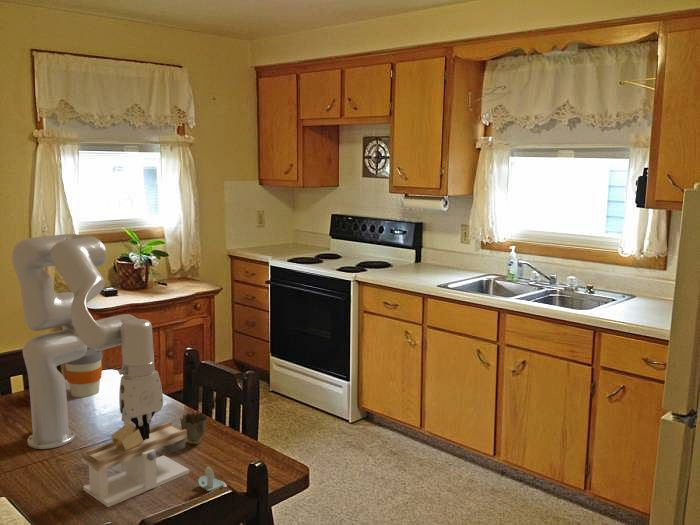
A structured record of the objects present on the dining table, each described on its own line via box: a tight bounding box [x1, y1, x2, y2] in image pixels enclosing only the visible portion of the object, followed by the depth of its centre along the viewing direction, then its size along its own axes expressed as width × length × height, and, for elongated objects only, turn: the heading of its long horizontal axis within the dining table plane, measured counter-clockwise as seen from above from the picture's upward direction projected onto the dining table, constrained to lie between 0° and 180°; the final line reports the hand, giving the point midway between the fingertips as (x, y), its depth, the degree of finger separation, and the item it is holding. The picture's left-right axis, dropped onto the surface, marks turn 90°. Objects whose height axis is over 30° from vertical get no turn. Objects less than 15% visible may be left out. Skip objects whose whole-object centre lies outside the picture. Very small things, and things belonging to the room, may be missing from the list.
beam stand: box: [82, 449, 190, 508], centre depth 168 cm, size 23×14×10 cm, turn 139°
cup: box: [179, 412, 208, 446], centre depth 190 cm, size 8×7×8 cm
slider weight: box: [110, 424, 144, 452], centre depth 164 cm, size 5×5×4 cm
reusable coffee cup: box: [64, 347, 104, 398], centre depth 228 cm, size 13×12×15 cm
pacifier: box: [197, 466, 228, 493], centre depth 166 cm, size 7×6×6 cm
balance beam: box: [80, 421, 187, 472], centre depth 168 cm, size 25×8×5 cm, turn 139°
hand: (143, 438), depth 168 cm, fingers closed
